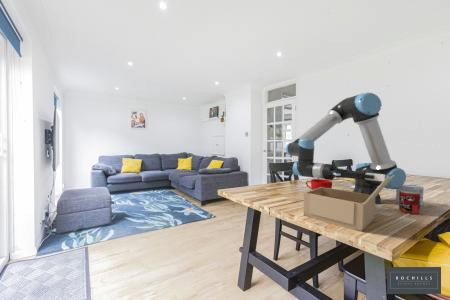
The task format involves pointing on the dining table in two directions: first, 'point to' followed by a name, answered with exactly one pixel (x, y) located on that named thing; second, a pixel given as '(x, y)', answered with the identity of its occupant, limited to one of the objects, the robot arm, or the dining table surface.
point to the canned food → (409, 201)
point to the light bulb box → (410, 187)
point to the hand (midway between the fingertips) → (384, 178)
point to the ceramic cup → (319, 183)
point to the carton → (339, 207)
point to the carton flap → (379, 189)
